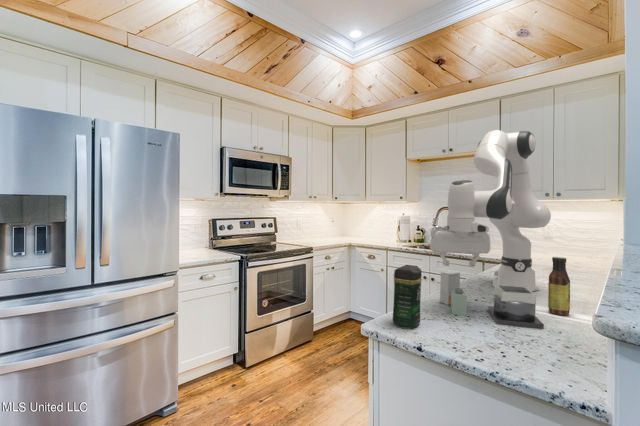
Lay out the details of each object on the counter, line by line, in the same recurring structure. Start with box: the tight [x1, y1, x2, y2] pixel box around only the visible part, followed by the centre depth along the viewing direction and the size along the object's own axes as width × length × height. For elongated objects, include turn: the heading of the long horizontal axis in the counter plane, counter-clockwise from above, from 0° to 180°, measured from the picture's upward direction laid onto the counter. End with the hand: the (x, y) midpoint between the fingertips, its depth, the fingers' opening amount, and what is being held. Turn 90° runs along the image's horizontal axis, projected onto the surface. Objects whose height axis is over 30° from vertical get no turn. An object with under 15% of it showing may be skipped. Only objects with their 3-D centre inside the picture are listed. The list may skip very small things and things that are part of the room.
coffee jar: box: [392, 264, 422, 329], centre depth 103 cm, size 10×8×19 cm
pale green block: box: [450, 287, 468, 317], centre depth 115 cm, size 6×4×8 cm
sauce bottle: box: [547, 256, 571, 316], centre depth 115 cm, size 6×6×20 cm
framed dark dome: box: [487, 285, 545, 330], centre depth 109 cm, size 14×13×10 cm
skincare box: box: [439, 270, 461, 306], centre depth 126 cm, size 6×4×12 cm
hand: (459, 265), depth 114 cm, fingers open, 8 cm apart
